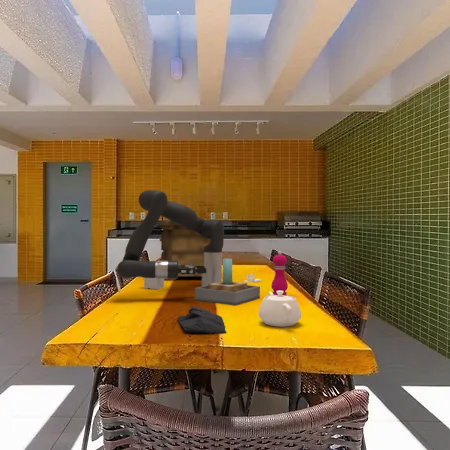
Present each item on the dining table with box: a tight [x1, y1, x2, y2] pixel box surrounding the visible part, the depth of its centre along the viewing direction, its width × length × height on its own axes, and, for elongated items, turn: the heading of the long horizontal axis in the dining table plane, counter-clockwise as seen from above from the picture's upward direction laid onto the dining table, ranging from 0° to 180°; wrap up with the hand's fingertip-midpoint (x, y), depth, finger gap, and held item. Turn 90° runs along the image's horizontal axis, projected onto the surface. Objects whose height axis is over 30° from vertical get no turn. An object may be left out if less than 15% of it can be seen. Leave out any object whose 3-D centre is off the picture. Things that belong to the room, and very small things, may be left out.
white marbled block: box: [143, 278, 165, 290], centre depth 215 cm, size 7×7×13 cm
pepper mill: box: [270, 250, 289, 296], centre depth 195 cm, size 7×7×20 cm
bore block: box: [208, 280, 248, 292], centre depth 187 cm, size 12×12×6 cm
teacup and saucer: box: [243, 274, 261, 283], centre depth 241 cm, size 9×8×4 cm
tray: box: [194, 284, 261, 306], centre depth 187 cm, size 20×20×5 cm
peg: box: [222, 258, 233, 285], centre depth 187 cm, size 4×4×14 cm
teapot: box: [258, 291, 302, 328], centre depth 145 cm, size 22×14×11 cm, turn 10°
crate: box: [158, 220, 225, 281], centre depth 257 cm, size 35×35×33 cm
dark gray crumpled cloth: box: [177, 305, 227, 335], centre depth 140 cm, size 15×22×5 cm
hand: (205, 269), depth 186 cm, fingers open, 8 cm apart
